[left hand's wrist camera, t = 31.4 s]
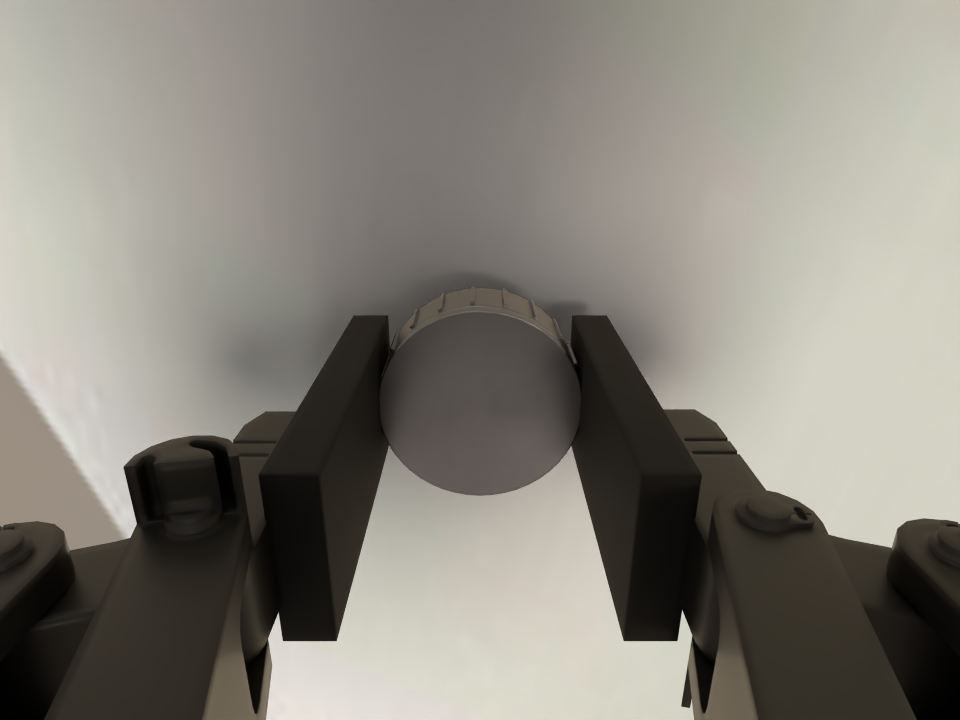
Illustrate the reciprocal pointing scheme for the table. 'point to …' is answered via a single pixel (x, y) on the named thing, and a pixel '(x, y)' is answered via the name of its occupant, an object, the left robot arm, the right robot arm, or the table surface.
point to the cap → (480, 392)
